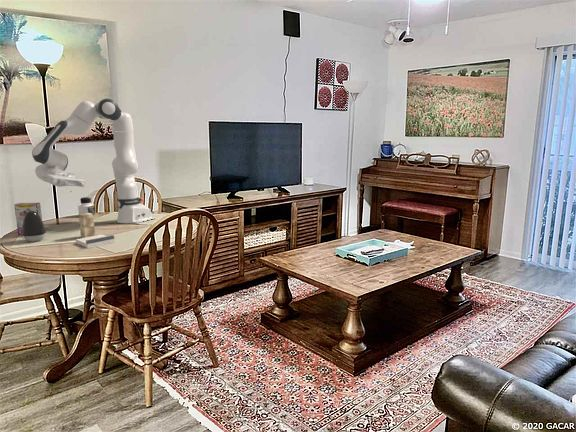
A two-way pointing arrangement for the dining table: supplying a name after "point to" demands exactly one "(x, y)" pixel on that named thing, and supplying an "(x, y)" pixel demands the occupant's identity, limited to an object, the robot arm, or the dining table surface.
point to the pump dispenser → (33, 227)
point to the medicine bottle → (86, 206)
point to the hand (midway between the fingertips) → (75, 184)
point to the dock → (95, 241)
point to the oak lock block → (87, 225)
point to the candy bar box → (25, 207)
